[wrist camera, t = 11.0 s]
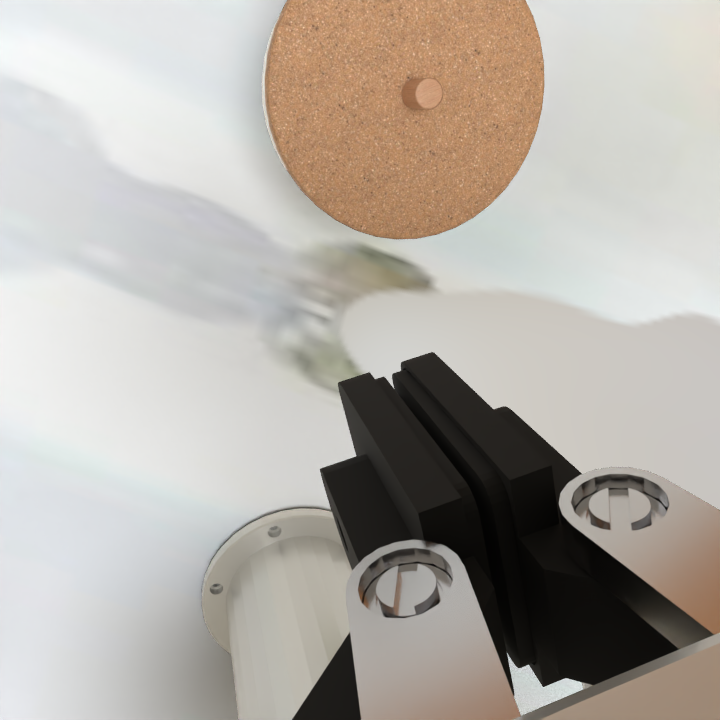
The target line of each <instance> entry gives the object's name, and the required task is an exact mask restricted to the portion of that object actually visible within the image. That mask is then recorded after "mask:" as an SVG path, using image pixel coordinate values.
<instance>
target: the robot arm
mask: <svg viewBox="0 0 720 720" xmlns="http://www.w3.org/2000/svg"><path fill="white" fill-rule="evenodd" d="M392 379H393V384H394V388H395V390H394V388H393V387H392V386H391V385H390V383H389V382H388V381H387V379H386V378H385V377H381V378H378V379H374V377H373V376H372V375H371V374H370V373H366V374H363V375H360V376H357V377H354V378H351V379H347V380H344V381H341V382H339V383H338V387H339V392H340V396H341V400H342V404H343V407H344V411H345V415H346V418H347V422H348V426H349V430H350V433H351V437H352V441H353V445H354V448H355V452H356V457H353V458H351V459H348V460H345V461H342V462H339V463H336V464H333V465H330V466H327V467H324V468H321V469H320V472H321V476H322V480H323V483H324V487H325V490H326V494H327V497H328V500H329V504H330V507H331V510H332V512H330V511H326V510H321V509H307V508H299V509H292V510H284V511H280V512H277V513H274V514H270V515H267V516H264V517H262V518H260V519H258V520H256V521H254V522H252V523H250V524H248V525H247V526H245V527H244V528H242V529H241V530H239V531H238V532H237V533H235V534H234V535H233V536H232V537H231V538H230V539H229V540H228V541H227V542H226V543H225V544H224V545H223V546H222V547H221V548H220V549H219V551H218V552H217V554H216V555H215V556H214V558H213V559H212V561H211V563H210V565H209V567H208V570H207V572H206V574H205V577H204V582H203V587H202V609H203V615H204V621H205V623H206V625H207V628H208V630H209V633H210V634H211V635H212V637H213V638H214V639H215V641H216V642H217V643H218V645H220V646H221V647H222V648H223V649H224V650H226V651H227V652H228V653H229V654H231V657H232V666H233V675H234V684H235V693H236V702H237V711H238V720H720V510H719V509H717V508H715V507H714V506H712V505H710V504H709V503H707V502H705V501H703V500H702V499H700V498H698V497H696V496H695V495H693V494H691V493H689V492H688V491H686V490H684V489H682V488H681V487H679V486H677V485H675V484H674V483H672V482H670V481H668V480H667V479H665V478H663V477H661V476H658V475H656V474H654V473H651V472H649V471H645V470H640V469H635V468H630V467H609V468H602V469H595V470H592V471H589V472H587V473H584V474H581V473H580V472H579V471H578V470H577V469H576V468H575V467H574V466H573V465H571V464H570V463H569V462H568V461H567V460H566V459H565V458H564V457H563V456H562V455H560V454H559V453H558V452H557V451H556V450H555V449H554V448H553V447H551V445H549V444H548V443H547V442H546V441H545V440H544V439H543V438H542V437H541V436H540V435H538V434H537V433H536V432H535V431H534V430H533V429H532V428H531V427H530V426H528V425H527V424H526V423H525V422H524V421H523V420H522V419H521V418H520V417H519V416H517V415H516V414H515V413H514V412H513V411H512V410H511V409H509V408H508V407H500V408H497V409H494V410H493V409H492V408H491V407H490V406H489V405H488V404H487V403H486V402H485V401H484V400H483V399H482V398H481V397H480V396H479V395H478V394H477V393H475V391H474V390H473V389H471V388H470V387H469V386H468V385H467V384H466V383H465V382H464V381H463V380H462V379H461V378H460V377H459V376H458V375H457V374H456V373H455V372H454V371H453V370H452V369H450V367H448V366H447V365H446V364H445V363H444V362H443V361H442V360H441V359H440V358H439V357H438V356H437V355H436V354H435V353H433V352H431V353H428V354H425V355H422V356H419V357H416V358H413V359H410V360H406V361H404V362H402V363H401V371H400V372H397V373H394V374H393V375H392ZM273 526H274V527H273ZM506 651H507V652H506ZM507 653H508V655H509V656H510V658H511V659H512V661H513V662H514V664H515V665H516V666H517V667H518V668H521V667H524V666H526V665H530V667H531V669H532V670H533V672H534V673H535V675H536V676H537V678H538V680H539V681H540V683H541V684H542V686H543V687H545V686H547V685H549V684H552V683H554V682H557V681H559V680H562V679H564V678H569V679H572V680H576V681H579V682H582V686H583V689H584V690H581V691H579V692H577V693H574V694H572V695H569V696H567V697H565V698H562V699H560V700H558V701H555V702H553V703H551V704H548V705H546V706H543V707H541V708H539V709H536V710H534V711H532V712H529V713H527V714H525V715H522V716H521V715H520V712H519V709H518V707H517V704H516V702H515V699H514V689H513V684H512V678H511V673H510V668H509V662H508V657H507Z"/></svg>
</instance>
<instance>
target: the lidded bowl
mask: <svg viewBox="0 0 720 720" xmlns="http://www.w3.org/2000/svg"><path fill="white" fill-rule="evenodd" d="M543 93H544V61H543V55H542V49H541V42H540V37H539V34H538V31H537V28H536V24H535V21H534V18H533V15H532V13H531V11H530V9H529V7H528V5H527V2H526V0H287V2H286V3H285V5H284V7H283V10H282V11H281V13H280V15H279V17H278V19H277V21H276V24H275V26H274V28H273V30H272V33H271V35H270V38H269V42H268V46H267V49H266V53H265V57H264V64H263V73H262V104H263V110H264V115H265V121H266V126H267V129H268V132H269V135H270V138H271V141H272V144H273V146H274V148H275V150H276V152H277V154H278V156H279V158H280V160H281V162H282V164H283V166H284V167H285V168H286V170H287V171H288V173H289V174H290V175H291V177H292V178H293V180H294V181H295V182H296V184H297V185H298V186H299V188H300V189H301V190H302V191H303V192H304V194H305V195H306V196H307V197H308V198H309V199H310V200H311V201H312V202H313V203H314V204H315V205H316V206H317V207H319V208H320V209H321V210H323V211H324V212H326V213H327V214H328V215H330V216H331V217H332V218H334V219H335V220H337V221H339V222H341V223H343V224H344V225H346V226H348V227H350V228H352V229H354V230H357V231H360V232H363V233H366V234H369V235H373V236H376V237H383V238H390V239H417V238H422V237H427V236H432V235H437V234H439V233H442V232H445V231H448V230H450V229H453V228H456V227H457V226H459V225H461V224H463V223H465V222H466V221H468V220H470V219H472V218H473V217H475V216H476V215H477V214H479V213H480V212H481V211H483V210H484V209H485V208H486V207H488V206H489V205H490V204H491V203H492V202H493V201H494V200H495V199H496V198H497V197H498V196H499V195H500V194H501V193H502V192H503V191H504V190H505V189H506V187H507V186H508V184H509V183H510V182H511V180H512V179H513V178H514V176H515V175H516V174H517V172H518V170H519V169H520V167H521V165H522V163H523V161H524V159H525V158H526V156H527V154H528V152H529V149H530V147H531V144H532V142H533V139H534V136H535V134H536V131H537V127H538V123H539V119H540V114H541V110H542V103H543Z"/></svg>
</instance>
